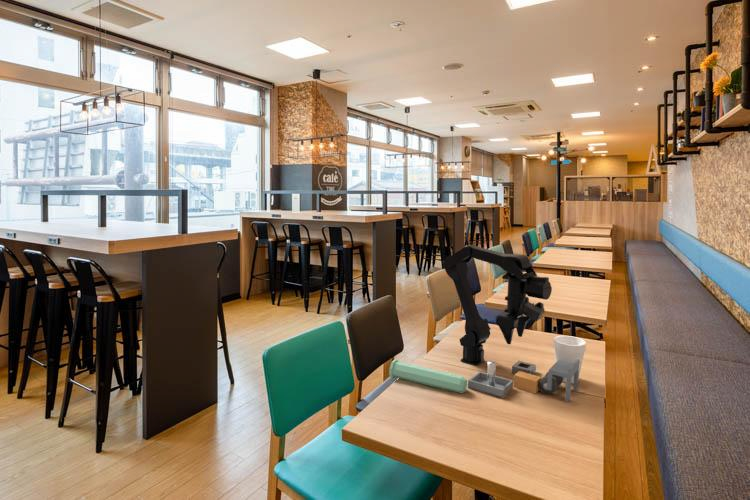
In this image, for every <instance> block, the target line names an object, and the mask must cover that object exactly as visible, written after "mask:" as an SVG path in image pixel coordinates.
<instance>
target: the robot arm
mask: <svg viewBox="0 0 750 500" xmlns="http://www.w3.org/2000/svg"><path fill="white" fill-rule="evenodd" d="M473 259H474V260H478V261H481V262H486V263H489V264H492V265H496V266H497V267H500V268H501V269H502V270H503V271H504V272H506V273H505V274H504V275H502V276H501V278H502V279H504V280H507V295H506V296H505V297H504V300H505V301H506V308H505V309H504V312H501V313H499V314H498V315H496V316H495V317H494V324H495V325H497V326H498V328H499V329H500V331H501V334H502V335H503V337H504V341H505V342H506V344H507V345H511V344H512V341H513V335H514V330H515V329H516V334H517V336H518V337H520V338H522V337H523V334H524V331H525V329H526V326H527V324H528V321H529V320H532V321H534V322H538V321H540V320H541V318H542V317H543V315H544V314H545V312H546V311H545V308H544V307H545V306H544V303H542V302H540V301H539V302H537V303H534V302H533V303H532V302H530V298H535V299H540V300H547V301H548V300H549V298H550V296H551V295H552V290H553V289H552V288H553V287H552V283H551V282H550V281H549V280H550V278H549V277H548V276H538V274H537V272H536V270H535V269H534V268H533V266H532V264H531V261H530V259H529V257H528V256H527V255H526V254H520V253H519V254H517V253H503V252H499V251H496V250H492V249H488V248H484V247H481V246H477V245H475V244H469V245H465V246H464V247H462V248H461V249H460V250H457V251H456V252H454V253H452V254H451V255H448V256H445V258H444V259H443V261H442V265H443V269H444V271H445V273H446V275H447V276H448V277H449V278H450V279H451V280H452V282H453V284H454V286H455V287H454V288H455V290H456V294H457V296H458V299H459V300H458V301H459V303H460V306H461V309H462V312H463V315H464V318H465V323H464V332H465V335H463V336H462V337H461V338H459V343H460V346H462V358H461V359H460V362H463V363H466V364H470V365H474V366H479V365H480V364H481V363H482V362H484V361H485V358H484V357H485V350H484V348H483V347H484V344H486V341H487V340H489V337H490V336H491V330H492V328H491V327H490V325H489V321H488V319H487V318H483V317H482V316H481V315H480V313H479V310H478V307H477V304H476V302H475V298H474V295H473V291H472V289H471V286H470V283H469V281H468V276H467V275H468V269H469V267H468V263H470V262H471V261H472V260H473Z"/></svg>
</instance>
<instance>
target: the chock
mask: <svg viewBox="0 0 750 500" xmlns="http://www.w3.org/2000/svg"><path fill="white" fill-rule="evenodd" d="M541 379H542V376H539V375H535V374H533V375H532V374H528V373H525V372H521V371H519V372H517V373H516V374H514V375H513V388H516V389H520V390H524V391H527V392H529V393H532V394H533V393H534V394H537V393H538V392H539V391H540V389H539V387H538V383H539V381H540V380H541Z"/></svg>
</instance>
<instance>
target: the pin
mask: <svg viewBox="0 0 750 500" xmlns="http://www.w3.org/2000/svg"><path fill="white" fill-rule="evenodd" d="M496 364H497V363H496V361H495V360H488V361H487V370H486V373H487V385H490V386H493V387H495V376H496V370H497V368H496V366H497V365H496Z"/></svg>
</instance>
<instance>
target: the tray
mask: <svg viewBox="0 0 750 500" xmlns="http://www.w3.org/2000/svg"><path fill="white" fill-rule="evenodd" d="M467 388H468V389H471V390H473V391H478V392H480V393H482V394H483V393H484V394H487V395H491V396H494V397H497V398H500V399H504V397H506V396H507V395H508V394H509V393H510V392H511V391H513V389H514V380H511V379H508V378H505V377H501V376H498V375H495V387H493V386H490V385H487V372H482V371H478V372H477V373H475V374H474V375H473V376H472V377H470V378H469V379H467Z"/></svg>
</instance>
